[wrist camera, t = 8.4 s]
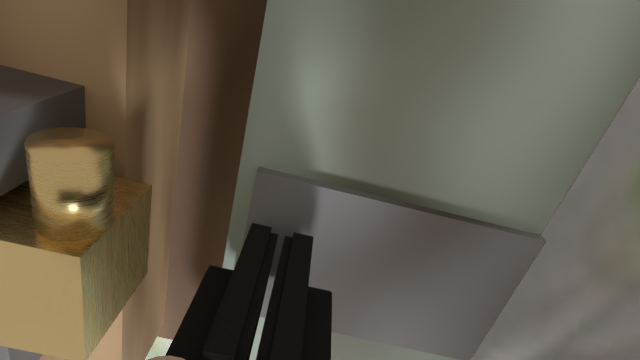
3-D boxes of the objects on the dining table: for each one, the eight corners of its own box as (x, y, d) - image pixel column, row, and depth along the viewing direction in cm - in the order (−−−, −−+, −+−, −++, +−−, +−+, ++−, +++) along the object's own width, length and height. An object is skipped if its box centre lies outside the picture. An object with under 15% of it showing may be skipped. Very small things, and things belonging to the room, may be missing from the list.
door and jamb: (588, -45, 12) (1047, -120, 4) (388, 359, 21) (418, 577, 13) (-91, -251, 11) (-1292, -945, 3) (1, 278, 19) (-227, 467, 12)
